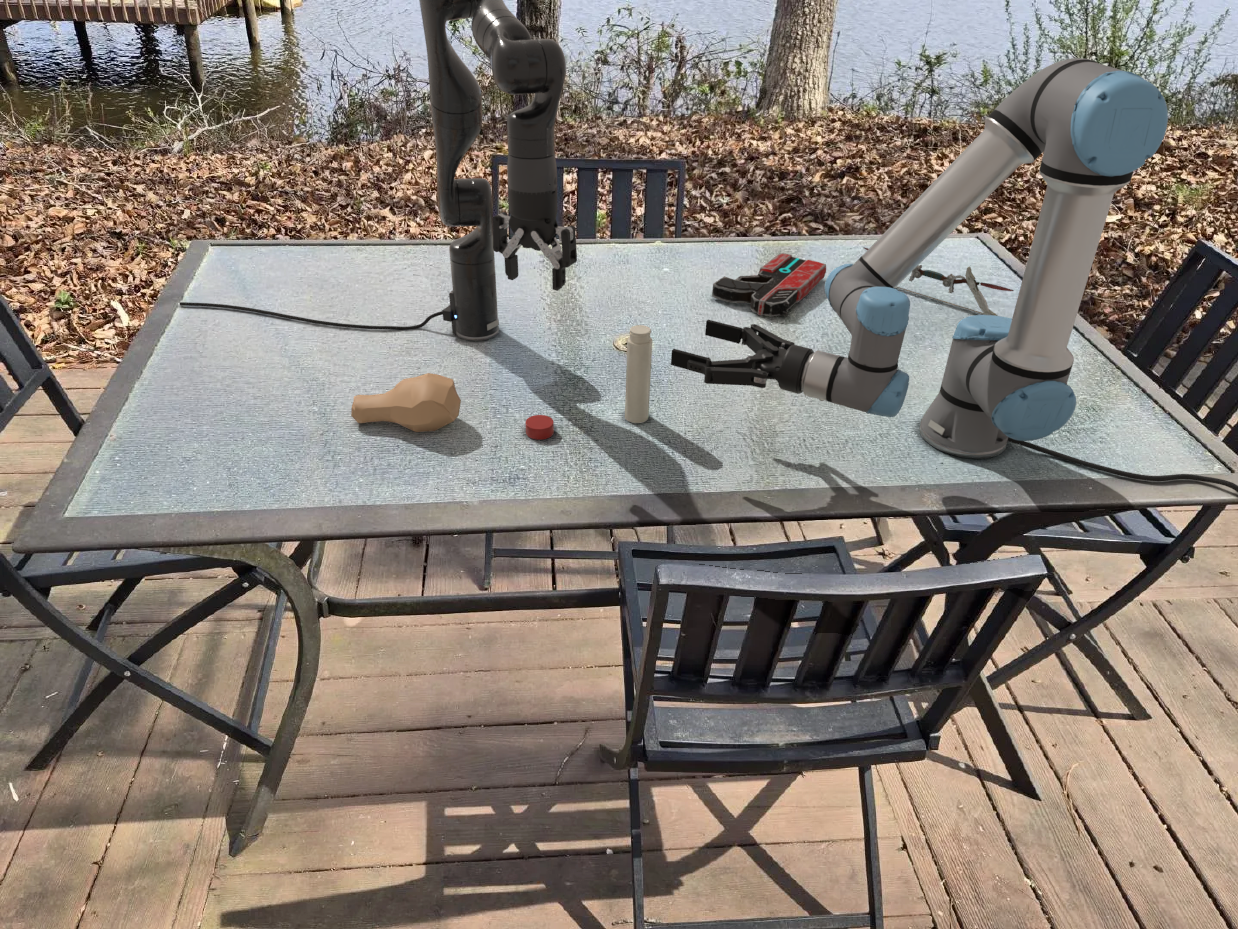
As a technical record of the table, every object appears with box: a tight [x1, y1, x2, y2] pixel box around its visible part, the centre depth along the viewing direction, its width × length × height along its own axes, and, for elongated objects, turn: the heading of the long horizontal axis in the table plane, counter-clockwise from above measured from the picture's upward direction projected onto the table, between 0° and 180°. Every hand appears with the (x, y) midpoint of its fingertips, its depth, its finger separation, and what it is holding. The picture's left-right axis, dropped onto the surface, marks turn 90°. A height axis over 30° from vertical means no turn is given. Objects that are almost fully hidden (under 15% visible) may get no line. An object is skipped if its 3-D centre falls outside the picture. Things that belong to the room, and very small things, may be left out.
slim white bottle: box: [624, 324, 653, 424], centre depth 159 cm, size 4×4×18 cm
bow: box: [863, 247, 1015, 316], centre depth 212 cm, size 39×2×10 cm, turn 47°
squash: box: [350, 372, 462, 433], centre depth 158 cm, size 11×20×9 cm, turn 90°
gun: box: [711, 252, 827, 318], centre depth 215 cm, size 4×31×19 cm
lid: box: [525, 414, 555, 441], centre depth 158 cm, size 5×5×2 cm
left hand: (535, 283), depth 143 cm, fingers open, 8 cm apart
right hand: (689, 341), depth 150 cm, fingers open, 13 cm apart
